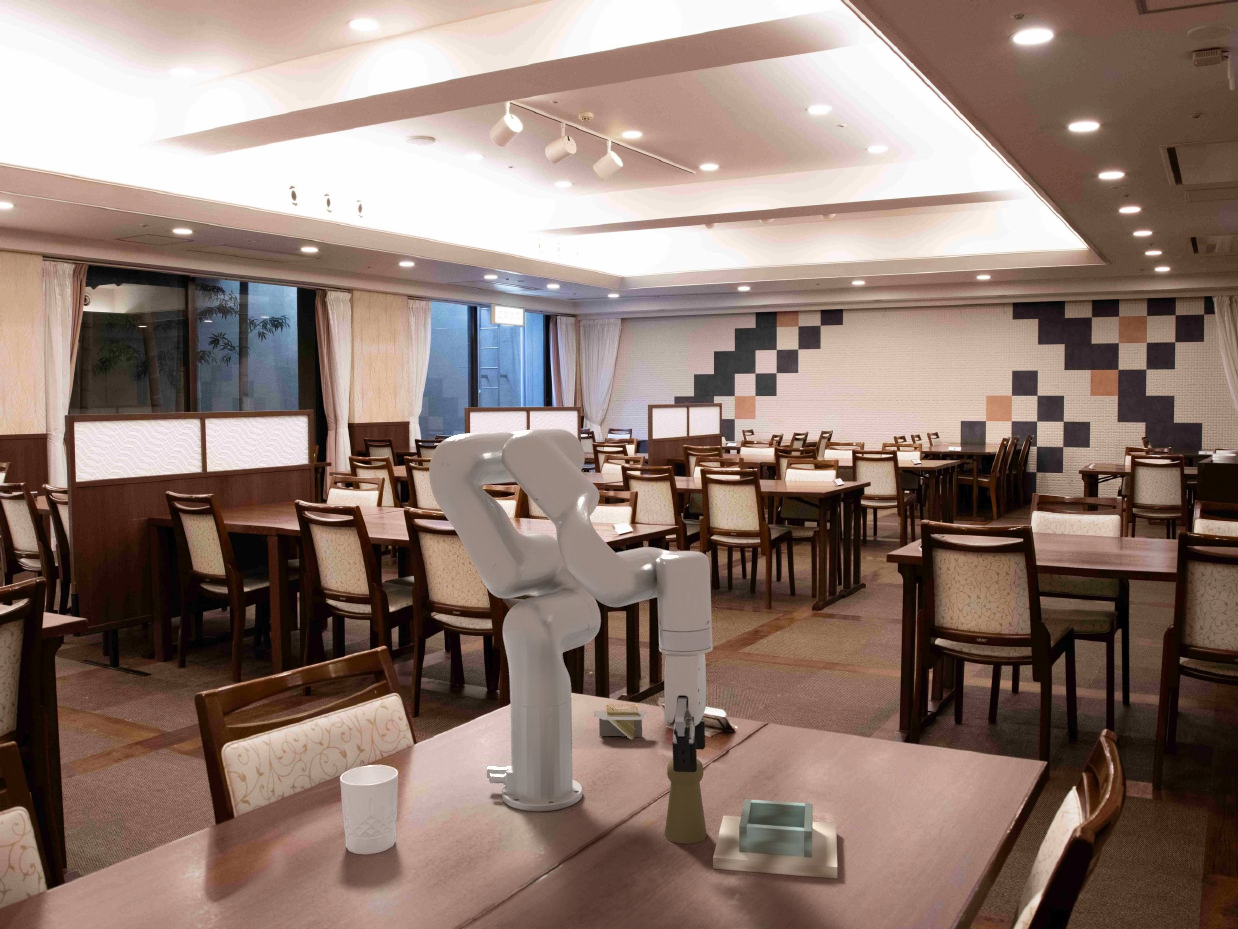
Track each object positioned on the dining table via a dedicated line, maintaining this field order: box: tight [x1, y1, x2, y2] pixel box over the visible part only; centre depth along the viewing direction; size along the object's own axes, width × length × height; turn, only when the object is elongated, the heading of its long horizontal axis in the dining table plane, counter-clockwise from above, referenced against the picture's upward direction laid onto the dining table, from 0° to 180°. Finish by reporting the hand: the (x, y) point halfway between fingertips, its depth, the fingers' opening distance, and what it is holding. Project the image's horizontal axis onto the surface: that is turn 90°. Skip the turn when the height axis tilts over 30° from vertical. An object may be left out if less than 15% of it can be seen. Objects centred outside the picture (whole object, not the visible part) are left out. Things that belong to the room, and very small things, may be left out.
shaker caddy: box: [712, 798, 838, 879], centre depth 137 cm, size 16×14×5 cm
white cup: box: [339, 764, 399, 855], centre depth 141 cm, size 8×8×10 cm
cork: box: [664, 758, 708, 845], centre depth 143 cm, size 6×6×11 cm
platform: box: [593, 703, 648, 740], centre depth 186 cm, size 12×18×7 cm, turn 89°
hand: (690, 759), depth 142 cm, fingers open, 9 cm apart
